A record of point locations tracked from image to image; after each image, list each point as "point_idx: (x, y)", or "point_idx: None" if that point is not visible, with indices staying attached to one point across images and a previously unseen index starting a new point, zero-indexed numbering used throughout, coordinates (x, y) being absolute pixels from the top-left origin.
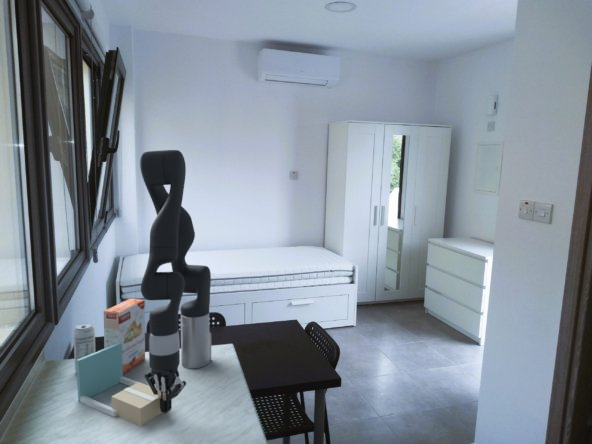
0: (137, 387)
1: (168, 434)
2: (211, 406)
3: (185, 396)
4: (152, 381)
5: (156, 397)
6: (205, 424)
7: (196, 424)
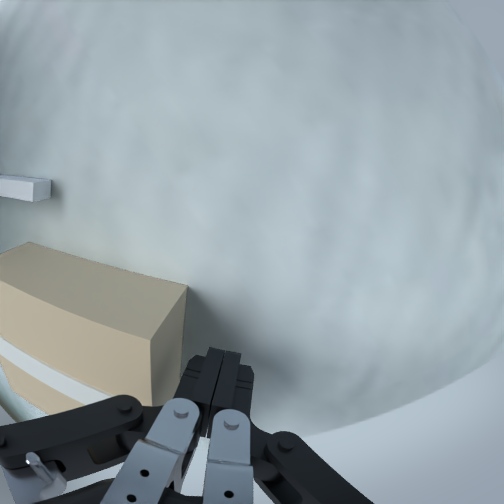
0: (1, 318)
1: (312, 421)
2: (415, 180)
3: (203, 125)
4: (75, 473)
5: (138, 396)
6: (432, 330)
7: (398, 345)
